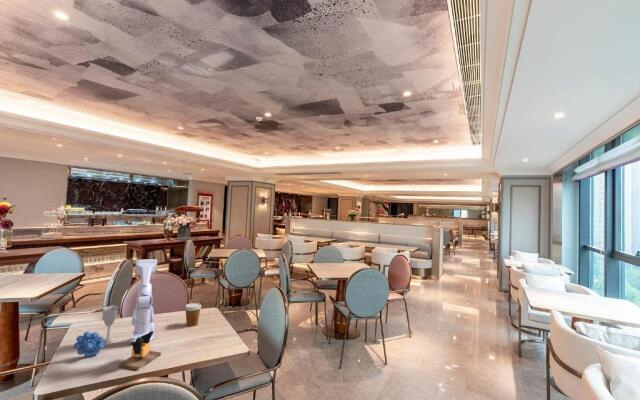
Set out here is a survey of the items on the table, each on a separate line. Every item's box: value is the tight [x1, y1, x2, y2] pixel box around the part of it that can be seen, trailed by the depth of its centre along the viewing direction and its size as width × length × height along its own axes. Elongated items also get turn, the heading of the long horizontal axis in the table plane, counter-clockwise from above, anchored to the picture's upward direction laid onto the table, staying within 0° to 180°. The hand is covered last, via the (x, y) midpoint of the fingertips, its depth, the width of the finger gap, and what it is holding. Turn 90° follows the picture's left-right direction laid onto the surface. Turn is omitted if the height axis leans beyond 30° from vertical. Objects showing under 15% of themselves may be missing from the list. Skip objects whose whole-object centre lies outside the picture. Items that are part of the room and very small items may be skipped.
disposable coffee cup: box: [184, 302, 202, 327], centre depth 184 cm, size 10×10×12 cm
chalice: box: [101, 305, 119, 346], centre depth 156 cm, size 7×7×18 cm
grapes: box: [73, 331, 105, 358], centre depth 141 cm, size 12×7×12 cm, turn 126°
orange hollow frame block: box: [131, 342, 151, 357], centre depth 140 cm, size 5×5×4 cm
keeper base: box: [118, 350, 162, 371], centre depth 140 cm, size 14×10×5 cm
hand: (141, 350), depth 140 cm, fingers closed on orange hollow frame block, 5 cm apart
